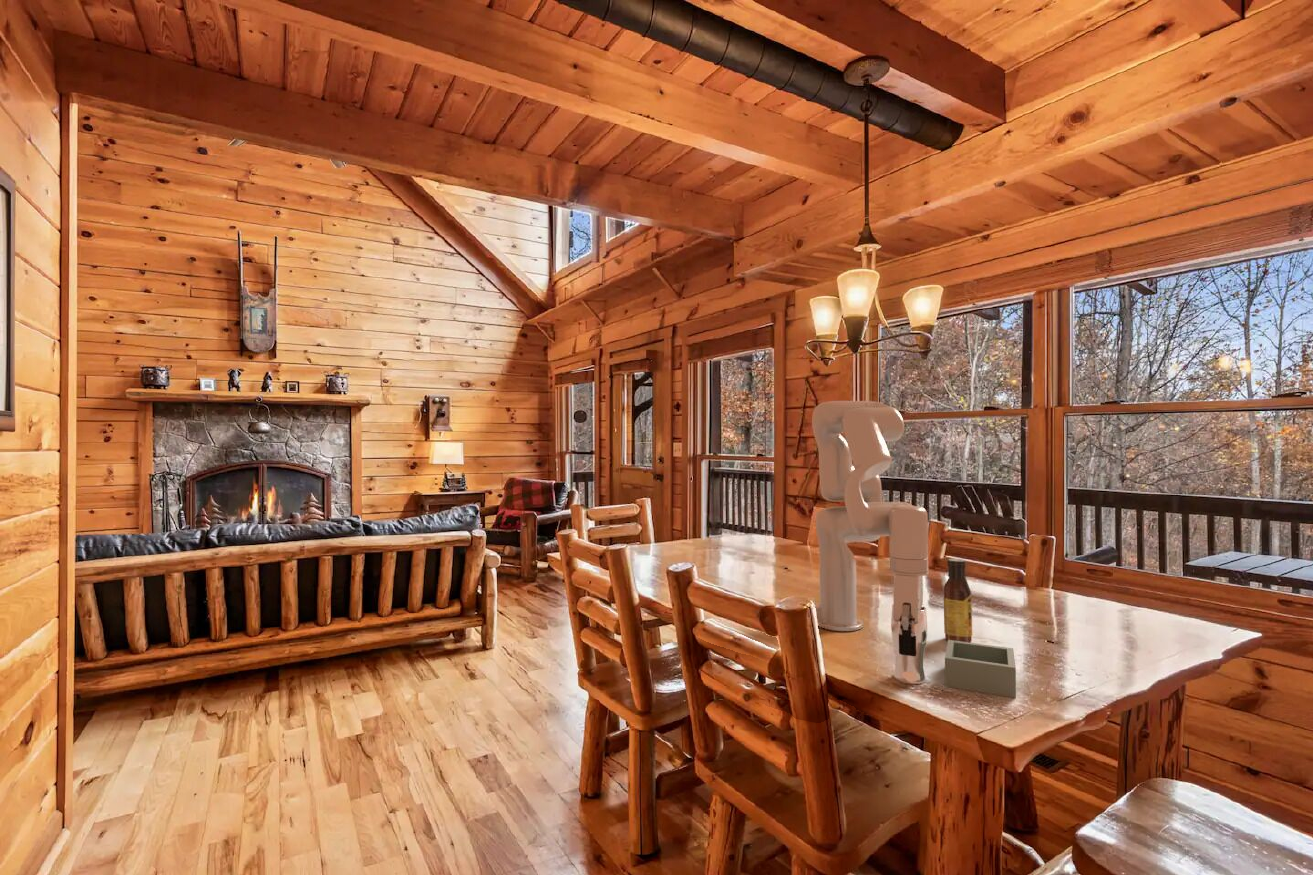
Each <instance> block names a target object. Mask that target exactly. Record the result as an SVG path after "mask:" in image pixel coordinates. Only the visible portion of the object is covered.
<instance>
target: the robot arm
mask: <svg viewBox="0 0 1313 875" xmlns="http://www.w3.org/2000/svg"><path fill="white" fill-rule="evenodd" d="M811 427H812V432H813V436H814V438H815V441H816V442H815V443H816V447H817V450H818V466H819V467H818V470H819V471H818V472H819V473H818V474H819V488H820V494H821V496H822V498H823V499H824V500H826V501H828V502H829V501H830V502H844V505H845V506H829V507H825V508H822V509H820V510H819V511H818V512H817V513H816V515H815V519H814V520H815V521H814V522H815V524H814V526H815V531H816V537H817V544H818V557H819V558H818V562H819V563H818V564H819V566H818V568H819V574H818V575H819V576H818V577H819V578H818V579H819V586H818V587H819V605H816V606H814V607H815V608H816V611H817V619H818V623H819V628H821V627H822V628H821V629H823V628H825V629H824V630H827V629H828V630H829V631H835V632H854V631H858V630H860V629H862V628H863V627H864V626H863V625H864V622H863V620H861V619H860V618H859V617H857V615H858V614H857V560H856V556H855V555H854V552H852V550H851V549H850V547H848V545H847V544H849V543H868V542H870V543H871V542H875V541H877V540H879V539H880V538H881V537H889V538H888V540H889V542H888V544H889V545H888V546H889V572H890V573H891V574H894V577H893V598H892V599H893V604H892V605H893V620H894V622H897V621H899V620H900V629H899V654H901V655H908V656H916V636H914V634H915V625H916V624H918V623H919V619H920V612H921V610H922V606H924V605H923V600H924V594H923V592H924V591H923V586H924V585H923V584H924V583H923V581H924V580H923V577H924V576H927V575H929V573H930V572H929V571H930V570H929V566H930V564H929V528H928V527H929V523H928V522H929V521H928V520H929V519H928V517H929V516H928V515H929V514H928V512H927V510H926V509H925V508H924V507H922V506H917V505H912V504H910V503H908V502H905V501H883V492H882V491H883V490H882V481H881V477H880V475H881V474H883V473H885V472H886V471H887V470H888V469H889V468H890V467H891V464H892V462H893V461H892V456H891V454H890V450H889V449H888V448H889V447H888V445H887V442H897V441H899V440H900V439H901V438H902V437H903V435H904V433H905V423H904V419H903V417H902V415H901V412H899V410H898V409H896V408H894V407H893V406H890V405H887V404H885V403H882V402H879V401H873V400H831V401H830V400H829V401H824V402H821V403H819V404H818V405H816V406H815V407H814V410H813V411H812V417H811ZM842 434H843V435H844V436H843V435H842ZM910 611H911V612H910ZM909 619H913V620H909ZM910 625H912V627H911V626H910ZM828 630H827V631H828Z"/></svg>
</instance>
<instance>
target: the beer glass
mask: <svg viewBox="0 0 1313 875" xmlns="http://www.w3.org/2000/svg"><path fill="white" fill-rule="evenodd" d="M910 612H911V611H910ZM890 619H891V621H890V622H891V623H890V624H891V626H890V627H891V638H892V644H893V648H894V653H895V668H894V672H893V676H894V679H895V680H897V681H898V682H901V683H903V684H909V685H920V684H923V683H925V681H926V675H925V669H924V658H925V656H924V655H925V652H926V645H927V640H928V618H927V608H926V607H925V606H924V605H922V610H921V612H920V619H919V623H918V624H916V625H915V634H914V636H916V656H908V655H901V654H899V629H900V620H899V621H897V622H894V620H893V604H892V606H891V618H890ZM909 620H913V619H909ZM910 626H911V627H912V625H910Z"/></svg>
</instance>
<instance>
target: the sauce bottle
mask: <svg viewBox="0 0 1313 875" xmlns="http://www.w3.org/2000/svg"><path fill="white" fill-rule="evenodd" d="M966 564H967V562H966V560H965V559H962V558H948V559H947V566H948V578H947V580H946V582H945V583H944V586H943V620H944V621H943V622H944V623H943V624H944V625H943V626H944V627H943V628H944V630H943V631H944V638H945V640H946V641H948V640H953V641H961V642H969V643H972V641H973V640H972V637H973V606H972V603H973V602H972V591H971V588H970V586H969V583H968V580H967V577H966V567H967V566H966Z"/></svg>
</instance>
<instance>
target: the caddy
mask: <svg viewBox="0 0 1313 875" xmlns="http://www.w3.org/2000/svg"><path fill="white" fill-rule="evenodd" d="M1014 651H1015V650H1014V648H1012V647H1008V646H1007V647H1005V646H997V645H989V644H984V643H983V644H982V643H974V642H970V643H969V642H961V641H953V640H947V645H946V650H945V655H944V687H946V688H950V689H951V688H953V689H958V690H964V691H970V692H978V693H983V694H989V695H995V696H1001V697H1002V696H1003V697H1008V698H1013V699H1014V698H1015V699H1016V698H1017V680H1016V678H1017V676H1016V675H1017V674H1016V671H1017V670H1016V669H1017V668H1016V662H1015V661H1016V660H1015V652H1014Z"/></svg>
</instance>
